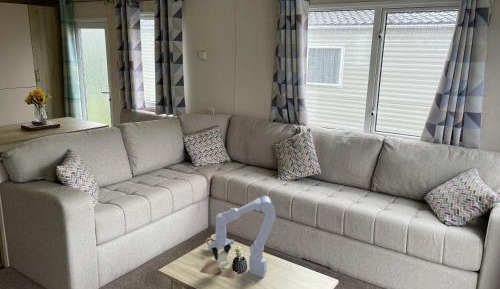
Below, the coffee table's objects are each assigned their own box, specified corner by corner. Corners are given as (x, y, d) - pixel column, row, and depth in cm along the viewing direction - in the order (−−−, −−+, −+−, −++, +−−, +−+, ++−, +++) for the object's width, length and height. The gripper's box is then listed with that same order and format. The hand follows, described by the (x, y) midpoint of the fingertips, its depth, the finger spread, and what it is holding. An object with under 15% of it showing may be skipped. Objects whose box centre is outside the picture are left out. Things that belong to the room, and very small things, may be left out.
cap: (223, 256, 222) (223, 249, 221) (226, 260, 217) (226, 253, 216) (214, 258, 219) (214, 251, 218) (218, 263, 215) (218, 255, 214)
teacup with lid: (227, 248, 248) (227, 230, 245) (222, 255, 239) (222, 237, 236) (209, 245, 251) (209, 228, 248) (203, 252, 242) (203, 234, 239)
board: (241, 266, 227) (241, 260, 226) (233, 280, 214) (233, 273, 213) (209, 260, 233) (209, 254, 232) (199, 273, 220) (199, 267, 219)
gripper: (229, 229, 222) (229, 251, 225) (205, 235, 215) (205, 257, 218) (235, 235, 216) (235, 257, 219) (210, 240, 209) (210, 264, 212)
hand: (220, 258), depth 218 cm, fingers closed on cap, 5 cm apart
